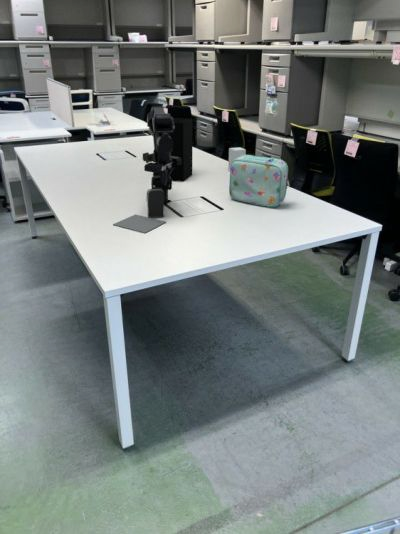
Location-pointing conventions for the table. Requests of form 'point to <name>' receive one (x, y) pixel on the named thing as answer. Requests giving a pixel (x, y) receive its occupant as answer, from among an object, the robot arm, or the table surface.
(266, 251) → the table surface
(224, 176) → the table surface
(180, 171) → the video game console
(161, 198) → the battery charger
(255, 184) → the lunch box
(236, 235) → the table surface
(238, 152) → the supplement box
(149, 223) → the mat
